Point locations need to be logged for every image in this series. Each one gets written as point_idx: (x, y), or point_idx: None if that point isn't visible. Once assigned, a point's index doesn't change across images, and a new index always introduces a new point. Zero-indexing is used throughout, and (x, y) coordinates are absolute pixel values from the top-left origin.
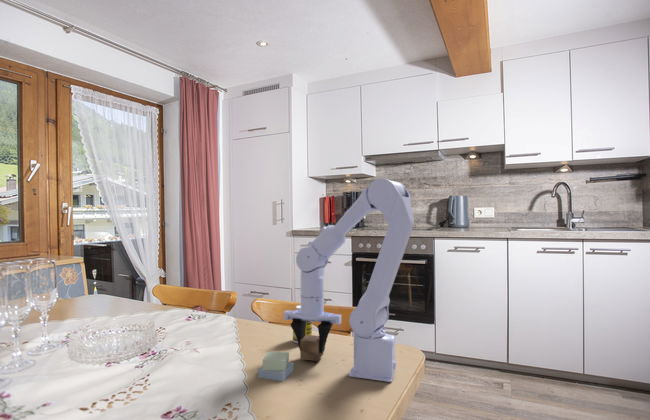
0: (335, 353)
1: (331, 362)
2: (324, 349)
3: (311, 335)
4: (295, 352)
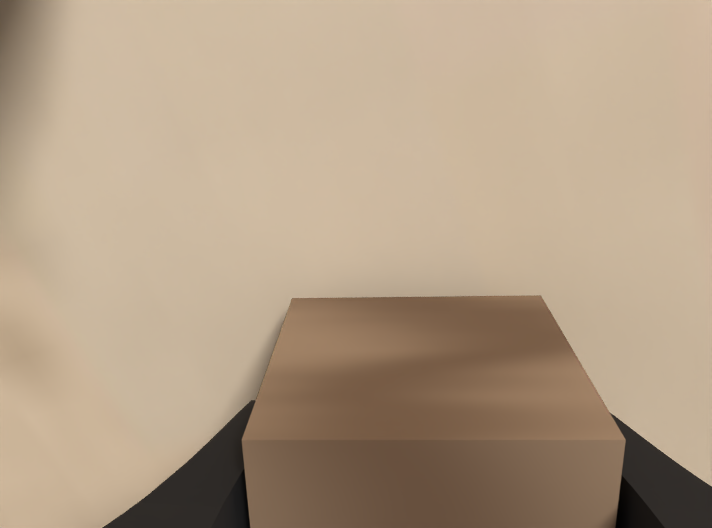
0: (668, 78)
1: (664, 385)
2: None
3: (356, 453)
4: (112, 231)
